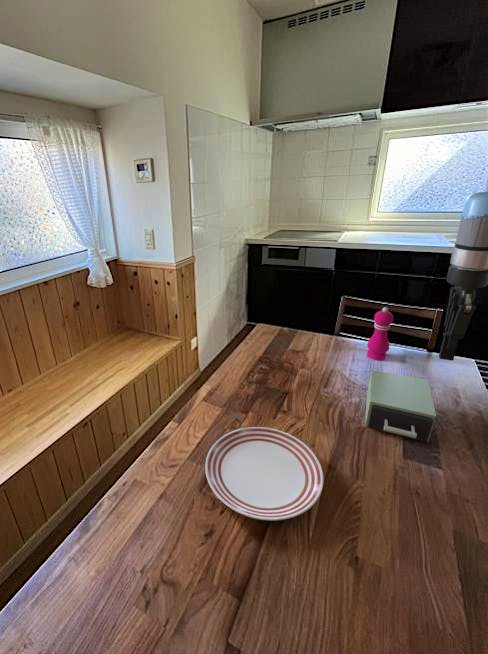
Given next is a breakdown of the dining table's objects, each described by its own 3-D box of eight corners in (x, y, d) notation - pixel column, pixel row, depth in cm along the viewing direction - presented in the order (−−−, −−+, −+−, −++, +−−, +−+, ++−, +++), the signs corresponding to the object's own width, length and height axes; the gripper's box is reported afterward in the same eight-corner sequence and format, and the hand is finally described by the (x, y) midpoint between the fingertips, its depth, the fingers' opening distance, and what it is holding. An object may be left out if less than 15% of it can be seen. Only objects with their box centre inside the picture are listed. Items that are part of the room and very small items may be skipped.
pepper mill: (370, 349, 132) (379, 302, 123) (390, 355, 126) (401, 307, 118) (361, 356, 127) (370, 307, 119) (382, 363, 122) (392, 313, 114)
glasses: (293, 373, 120) (294, 361, 118) (281, 393, 110) (282, 380, 108) (259, 364, 127) (259, 352, 125) (244, 382, 117) (244, 369, 115)
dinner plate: (182, 472, 84) (182, 462, 82) (254, 420, 99) (254, 411, 98) (273, 559, 64) (274, 548, 63) (344, 477, 80) (346, 467, 78)
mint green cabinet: (428, 442, 88) (436, 416, 84) (364, 426, 94) (370, 401, 91) (421, 404, 101) (428, 380, 98) (366, 392, 108) (371, 369, 104)
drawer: (428, 453, 83) (435, 432, 81) (367, 437, 89) (371, 417, 86) (420, 406, 99) (426, 386, 96) (369, 395, 105) (372, 376, 102)
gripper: (501, 276, 67) (470, 374, 77) (484, 259, 78) (459, 348, 87) (455, 274, 71) (431, 369, 80) (444, 258, 81) (424, 344, 91)
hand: (445, 358), depth 84 cm, fingers closed
